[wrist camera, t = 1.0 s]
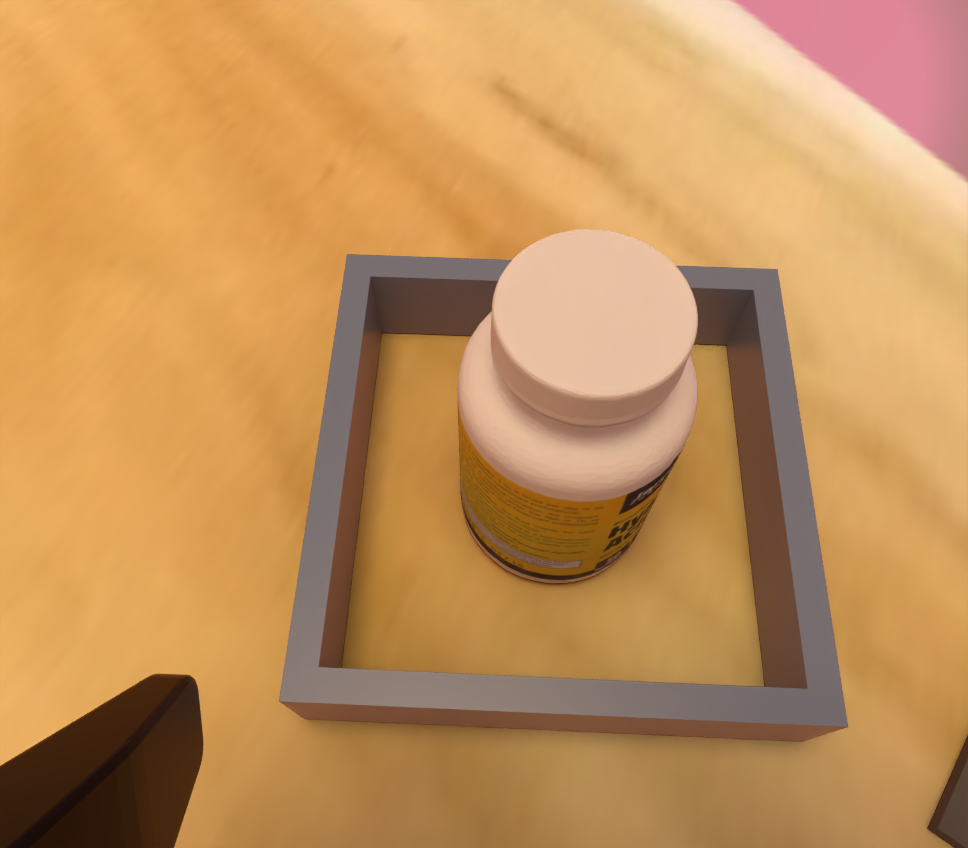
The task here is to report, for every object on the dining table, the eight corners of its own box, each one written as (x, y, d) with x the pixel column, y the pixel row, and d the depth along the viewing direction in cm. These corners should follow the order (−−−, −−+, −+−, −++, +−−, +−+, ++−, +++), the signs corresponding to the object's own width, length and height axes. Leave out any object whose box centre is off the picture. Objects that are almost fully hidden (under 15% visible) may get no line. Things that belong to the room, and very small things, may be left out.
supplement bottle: (612, 616, 23) (693, 475, 14) (433, 548, 23) (403, 375, 15) (664, 453, 25) (762, 243, 16) (500, 396, 26) (509, 170, 17)
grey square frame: (801, 741, 21) (848, 726, 18) (304, 719, 21) (278, 701, 19) (748, 325, 27) (777, 269, 24) (360, 311, 27) (347, 254, 25)
